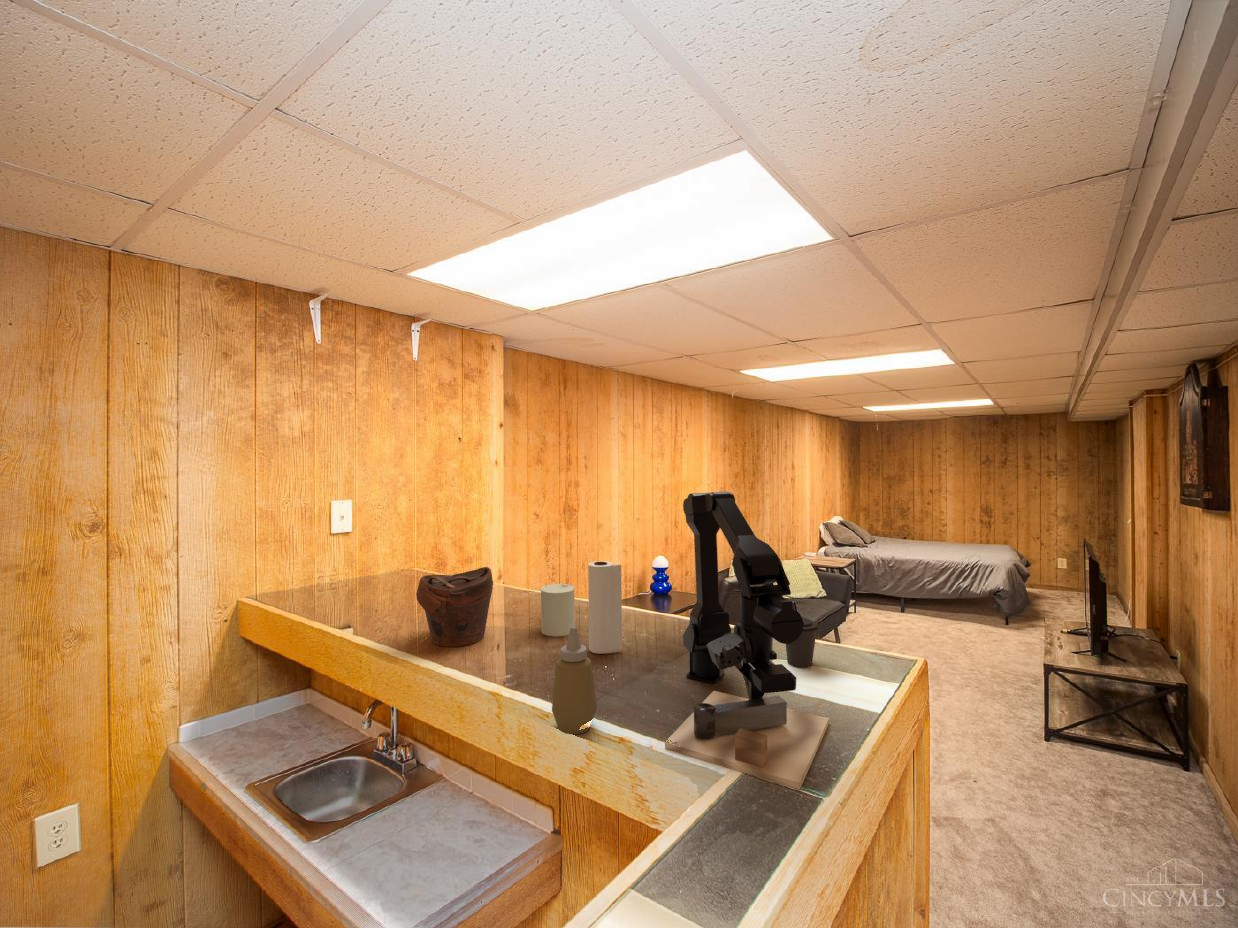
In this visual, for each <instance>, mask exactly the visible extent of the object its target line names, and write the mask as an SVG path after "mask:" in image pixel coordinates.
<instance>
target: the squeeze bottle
mask: <svg viewBox="0 0 1238 928" xmlns="http://www.w3.org/2000/svg"><path fill="white" fill-rule="evenodd" d="M567 637H568V638H567V642H566V644H565V645H563V646H561V648H560V658H559V659H557V660H556V662H555V666H554V667H555V669H554V682H553V692H552V705H551V712H552V715H553V718H554V721H555V723H556V725H557V728H558V730H559V731H560V732H561V733H564V734H565V735H579V734H583V733H585V732H587V731H589V730H590V728H588V727H587V728H585V729H581V730H579V729H580V727H581V726H582V725H584V724H586V723H587V722H589V721H591V720H592V719H593V720H594V717H595V714H596V711H597V698H596V690H595V680H594V673H593V672H594V670H593V662H592V661H593V660H591V659H590V658H589V657H588V655H587V653H588V652H587V646H586V645H584V644H581V640H580V637H579V632H578V628H577V627H576V626H575V627H571V628H570V632H569V635H568V636H567Z"/></svg>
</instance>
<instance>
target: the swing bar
mask: <svg viewBox="0 0 1238 928" xmlns="http://www.w3.org/2000/svg"><path fill="white" fill-rule="evenodd" d="M787 705H788V702H787V700H785V699H784V698H783V697H782V696H780V695H775V696H769V697H768V696H767V697H762V698H759V699H753V700H746V701H739V702H732V703H725V704H719V705H711V704H707V703H702V702H701V703H697V704H695V705H694V706H693V712H694V735H695V736H696V737H698V738H701V739H711V738H713V737H714V736H718V735H724V734H730V733H737V732H738V730H739V729H740V728H742V729H745V730H755V729H761V728H767V727H773V726H779V725H786V724H787V708H788V706H787Z"/></svg>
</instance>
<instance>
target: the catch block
mask: <svg viewBox="0 0 1238 928" xmlns="http://www.w3.org/2000/svg"><path fill="white" fill-rule="evenodd" d="M735 760H738V761H741V762H744V763H748V764H751V765H754V766H758V767H761V768H763V767H764V765H765V763H766V761H767V735H764V734H760V733H757V732H753V731H749V730H745V729H742V728H740V729H739V730H738V732H737V733H736V734H735Z"/></svg>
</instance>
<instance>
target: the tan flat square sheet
mask: <svg viewBox="0 0 1238 928" xmlns="http://www.w3.org/2000/svg"><path fill="white" fill-rule="evenodd" d="M746 700H749V698H745V697H742V696H738V695H733V694H729V693H726V692H720V691H716V690H713V691H711V693H710V694H709V695H708V696H707V697H706V698H705V699H704V700H703V701H702V702H701V703H707V704H711V705H719V704H725V703H732V702H739V701H746ZM829 724H830V718H829V717H825V716H821V715H817V714H813V713H808V712H804V711H801V710H797V709H792V708H788V707H787V724H786V725H779V726H773V727H767V728H761V729H755V730H749V731H753V732H757V733H760V734H764V735H767V761H766V763H765V765H764V767H763V768H761V767H758V766H754V765H751V764H748V763H744V762H741V761H738V760H735V734H736V733H730V734H724V735H718V736H714V737H713V738H711V739H701V738H698V737H696V736H695V735H694V711H693V712H692V713H691V714H690V715H689V716H688V717H686V719H685V720H684V721H683V722H682V723H681V724H680V725H679V727H678V728H676V730H675V731H674V732H673V733H672V734H671V735H670V736H669V737H668V738H667V739H668V740H669V741H668V740H667V739H666V740H665V741H666V742H667V741H668V742H670V740H671V741H672V742H673V743H674V742H678V743H677V744H678V746H677V744H676V745H673V744H671V743H672V742H670V743H666V742H665V741H664V748H665V749H667V750H670V751H674V752H678V753H680V754H683V755H686V756H689V757H693V758H696V759H700V760H703V761H705V762H709V763H712V764H716V765H719V766H722V767H726V768H728V769H732V770H736V771H739V772H741V773H744V774H748V775H751V776H755V777H758V778H761V779H764V780H766V781H767V780H768V781H771V782H775V783H777V784H780V785H783V786H786V787H791V788H794V789H797V790H800V789H801V788H802V785H803V783H804V781H805V779H806V776H807V774H808V772H809V770H810V767H811V765H812V763H813V761H814V758H815V757H816V753H817V751H818V749H819V748H820V745H821V742H822V740H823V738H824V735H825V734H826V731H827V729H828V726H829ZM680 745H681V746H682V747H679V746H680ZM683 747H684V748H683Z"/></svg>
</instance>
